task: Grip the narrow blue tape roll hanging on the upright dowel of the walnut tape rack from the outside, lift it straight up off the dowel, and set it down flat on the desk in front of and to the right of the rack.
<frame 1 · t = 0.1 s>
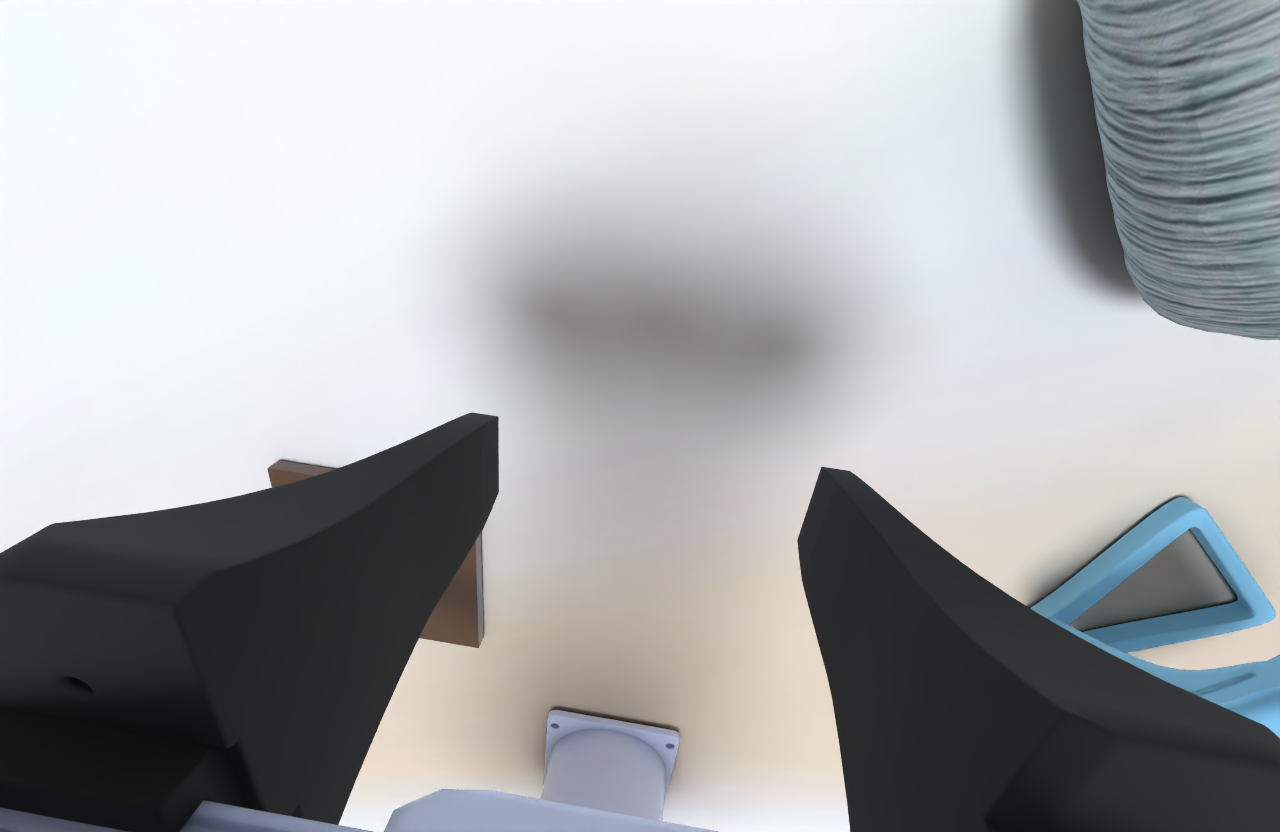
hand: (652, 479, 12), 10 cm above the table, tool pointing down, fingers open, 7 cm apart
peg rack: (389, 554, 27), on the table
chair: (1118, 591, 24), on the table
spool: (1184, 86, 16), on the table
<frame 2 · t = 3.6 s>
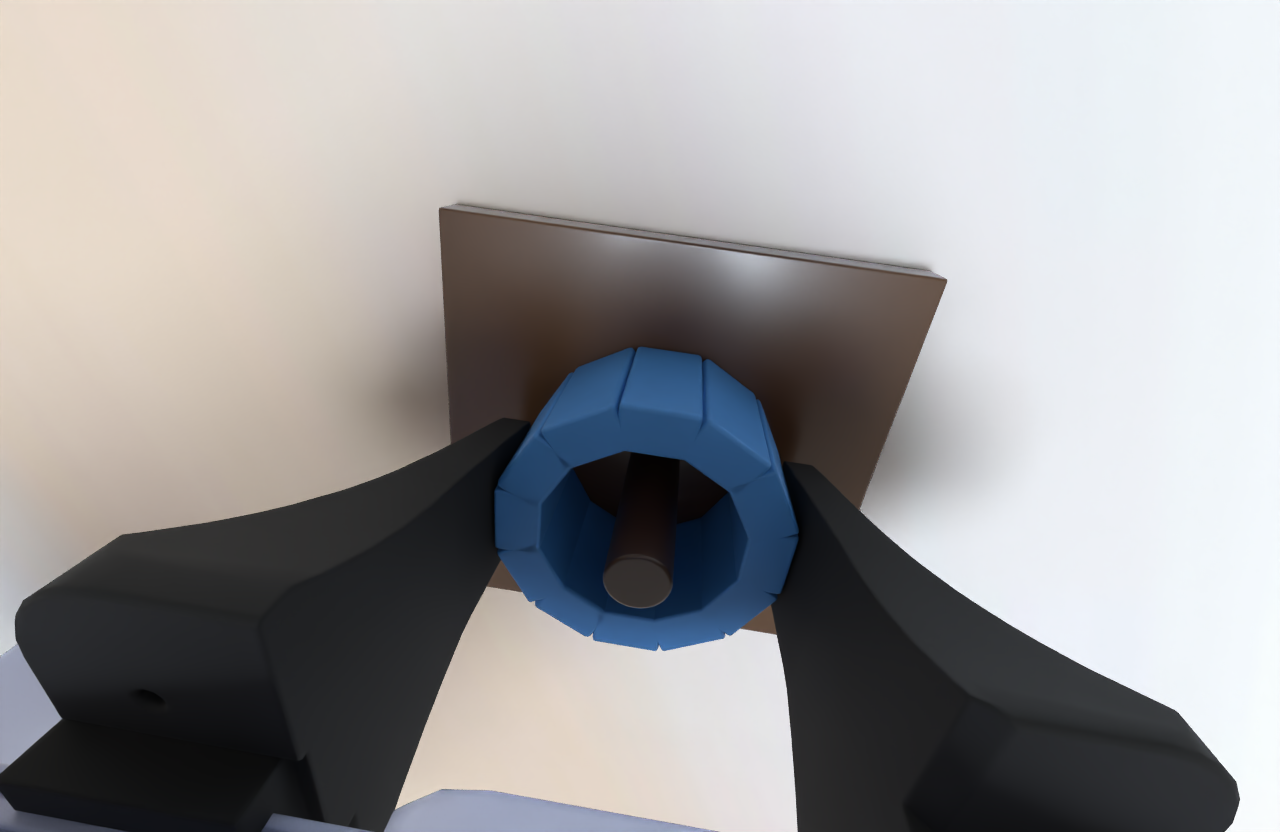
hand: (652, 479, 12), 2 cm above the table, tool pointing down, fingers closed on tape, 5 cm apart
peg rack: (657, 444, 13), on the table
tape: (653, 460, 12), point 1 cm above the table, touching gripper, peg rack
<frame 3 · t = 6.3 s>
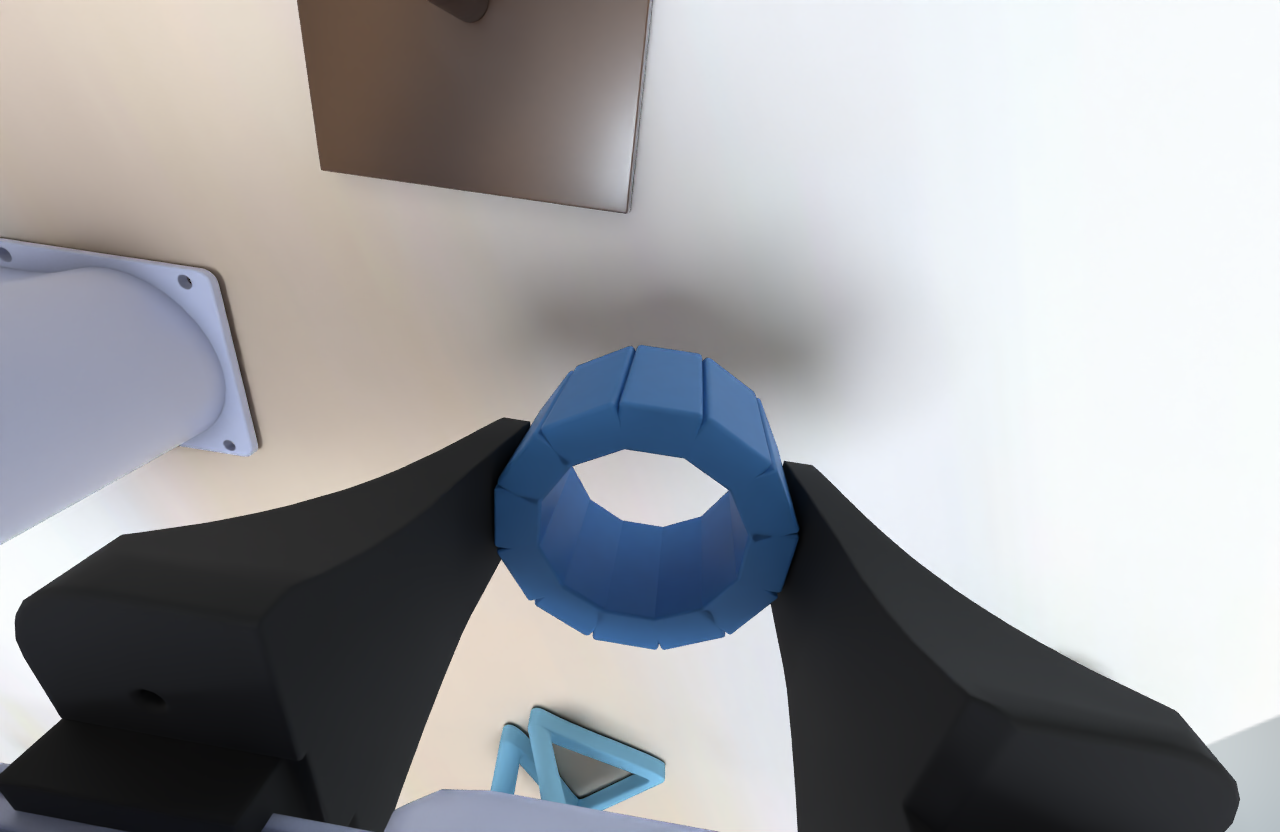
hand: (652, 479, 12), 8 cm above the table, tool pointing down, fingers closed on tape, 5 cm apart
peg rack: (478, 3, 15), on the table
chair: (573, 748, 31), on the table
tape: (653, 459, 12), point 8 cm above the table, touching gripper
when the fingers open (1 cm above the table, at t = 8.8 s): tape stays where it is, on the table.
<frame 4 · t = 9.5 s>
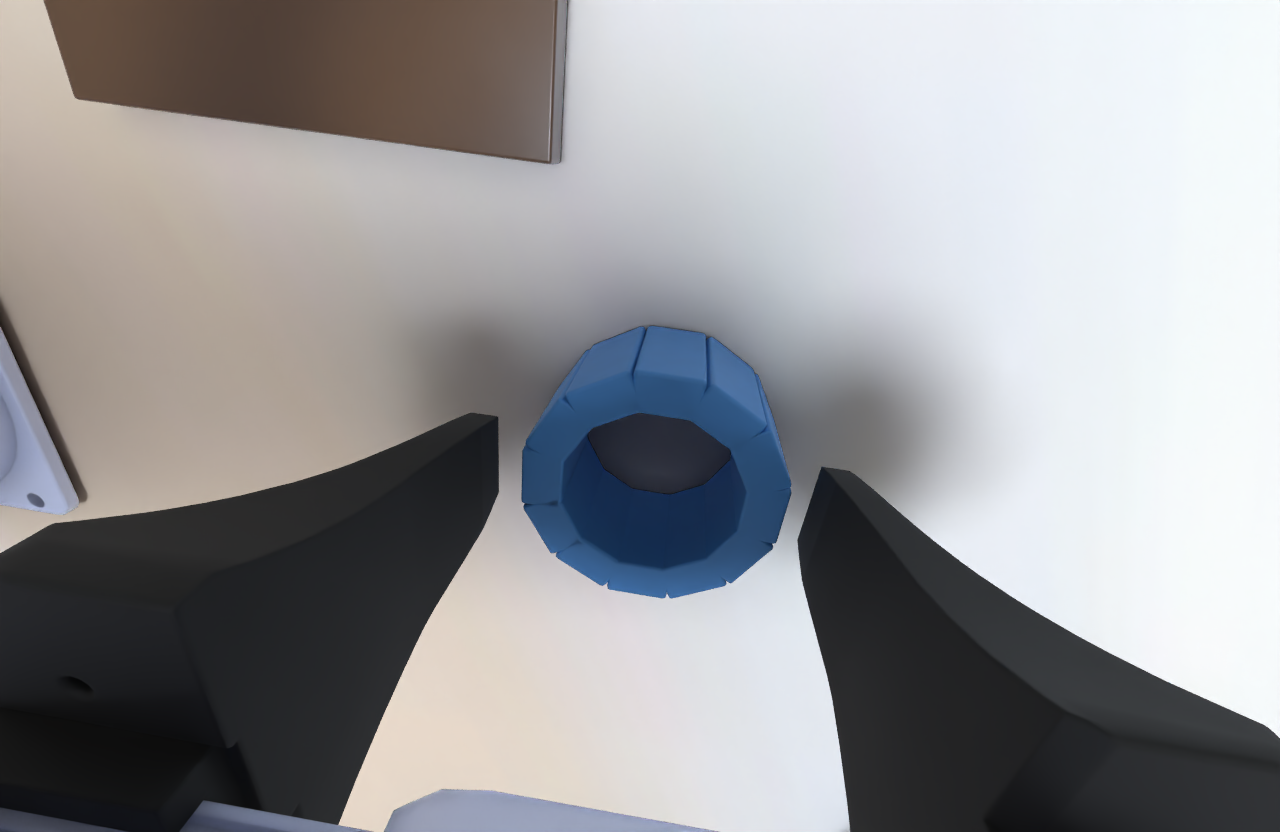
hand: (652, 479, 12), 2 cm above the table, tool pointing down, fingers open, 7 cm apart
tape: (661, 431, 14), on the table
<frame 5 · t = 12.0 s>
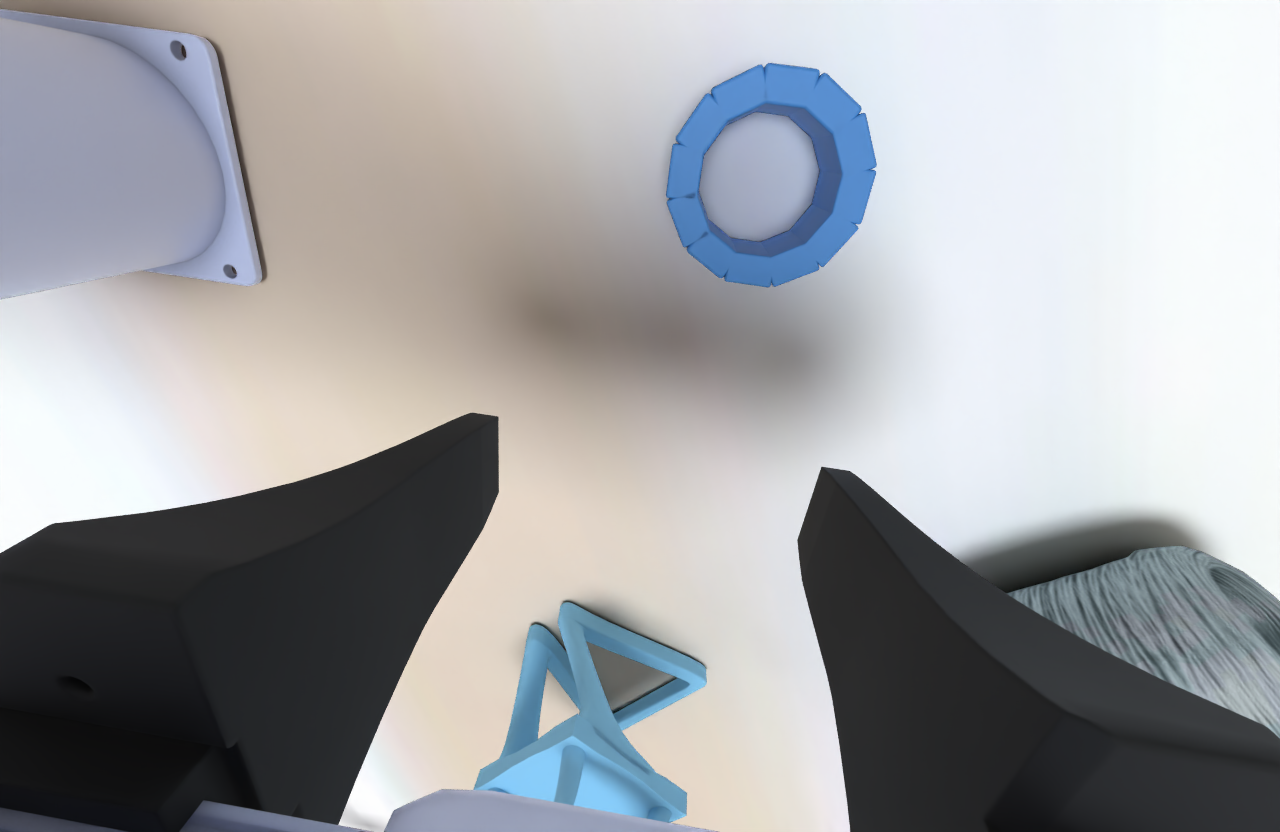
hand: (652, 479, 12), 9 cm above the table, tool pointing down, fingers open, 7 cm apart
chair: (604, 653, 28), on the table
spool: (1026, 605, 24), on the table
tape: (757, 180, 17), on the table
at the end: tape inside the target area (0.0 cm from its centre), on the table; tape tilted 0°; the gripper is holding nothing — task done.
